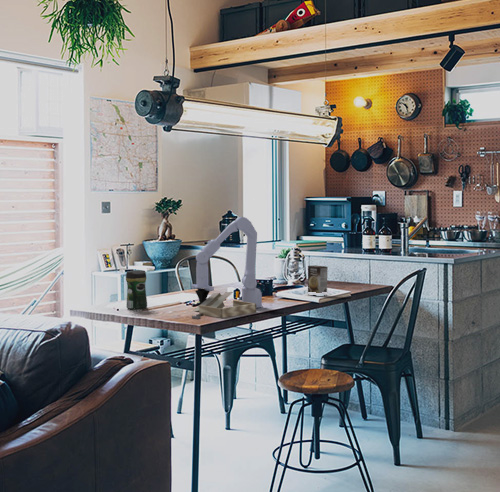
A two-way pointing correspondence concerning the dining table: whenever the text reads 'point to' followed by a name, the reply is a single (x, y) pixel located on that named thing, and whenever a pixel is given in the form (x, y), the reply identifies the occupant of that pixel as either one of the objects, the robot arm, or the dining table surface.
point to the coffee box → (317, 279)
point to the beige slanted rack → (215, 300)
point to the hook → (197, 316)
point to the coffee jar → (136, 289)
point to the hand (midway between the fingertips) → (202, 304)
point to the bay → (229, 309)
